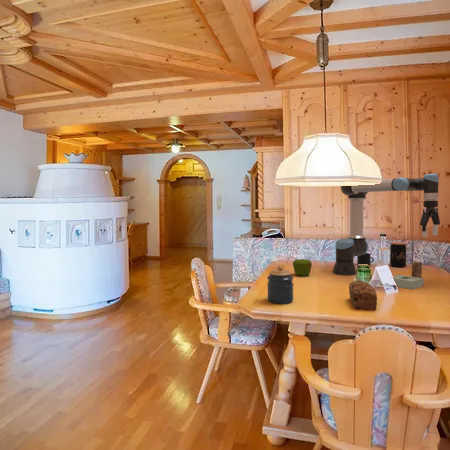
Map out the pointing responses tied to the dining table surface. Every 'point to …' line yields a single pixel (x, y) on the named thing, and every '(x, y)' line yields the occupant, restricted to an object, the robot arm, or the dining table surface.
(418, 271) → the slat
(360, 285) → the bread
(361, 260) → the mug
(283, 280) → the canister
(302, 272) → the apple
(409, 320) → the dining table surface
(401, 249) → the coffee jar
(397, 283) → the end cap
